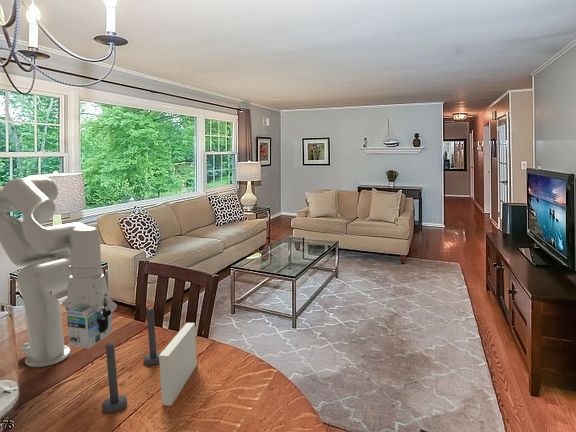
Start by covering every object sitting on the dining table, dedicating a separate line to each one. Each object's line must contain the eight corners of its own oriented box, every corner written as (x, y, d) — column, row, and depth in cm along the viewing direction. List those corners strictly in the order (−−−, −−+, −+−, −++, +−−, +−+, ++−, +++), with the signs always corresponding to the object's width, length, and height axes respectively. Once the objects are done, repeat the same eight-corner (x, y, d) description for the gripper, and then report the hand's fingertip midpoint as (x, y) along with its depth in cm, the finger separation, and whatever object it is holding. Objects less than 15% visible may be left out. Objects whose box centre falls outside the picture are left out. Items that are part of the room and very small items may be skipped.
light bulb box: (89, 349, 109) (86, 312, 107) (68, 346, 110) (65, 310, 109) (113, 331, 120) (111, 297, 118) (93, 329, 121) (91, 295, 119)
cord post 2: (140, 365, 124) (136, 312, 121) (148, 355, 130) (145, 305, 127) (158, 366, 123) (155, 313, 121) (166, 356, 129) (163, 306, 126)
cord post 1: (97, 412, 101) (91, 349, 99) (110, 398, 107) (105, 338, 104) (119, 414, 101) (114, 351, 98) (131, 399, 107) (126, 339, 104)
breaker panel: (157, 404, 104) (154, 355, 102) (185, 364, 124) (183, 322, 122) (171, 405, 104) (168, 356, 102) (196, 365, 123) (194, 322, 121)
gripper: (48, 273, 109) (54, 333, 112) (108, 276, 107) (112, 338, 110) (66, 265, 116) (71, 322, 119) (123, 268, 114) (126, 326, 117)
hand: (91, 329), depth 114 cm, fingers closed on light bulb box, 7 cm apart
